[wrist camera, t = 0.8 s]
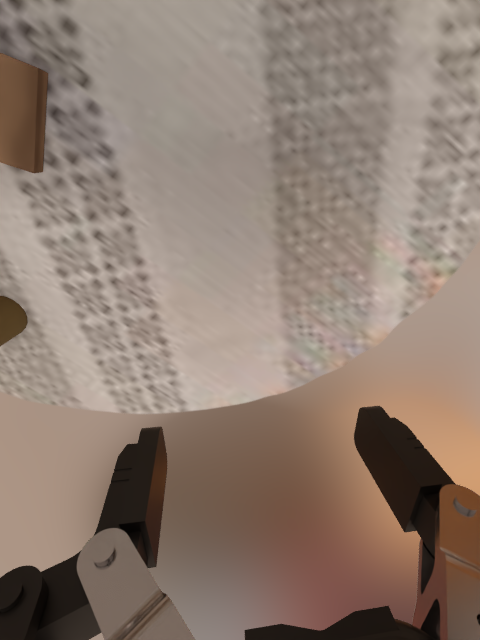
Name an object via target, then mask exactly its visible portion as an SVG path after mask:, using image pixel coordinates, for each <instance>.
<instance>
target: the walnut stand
mask: <svg viewBox="0 0 480 640" xmlns="http://www.w3.org/2000/svg"><path fill="white" fill-rule="evenodd" d="M47 82H48V73H47V72H45V71H43V70H41V69H39V68H37V67H34V66H32V65H29V64H27V63H24V62H22V61H19V60H17V59H14V58H12V57H9V56H7V55H5V54H2V53H0V162H1V163H4V164H7V165H10V166H13V167H17V168H20V169H23V170H26V171H29V172H32V173H39V172H43V158H44V139H45V120H46V101H47Z"/></svg>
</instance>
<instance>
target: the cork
mask: <svg viewBox="0 0 480 640" xmlns="http://www.w3.org/2000/svg"><path fill="white" fill-rule="evenodd" d="M26 325H27V316H26V313H25V311H24V310H23V309H22V307H21V306H20V305H19V304H18V303H16V302H15V301H13V300H12V299H9V298H7V297H4V296H0V346H1V345H3V344H4V343H6V342H7V341H9V340H10V339H12V338H13V337H15V336H16V335H18V334H19V333H21V332H22V331H23V330H24V329H25V328H26Z"/></svg>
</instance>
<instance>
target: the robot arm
mask: <svg viewBox="0 0 480 640" xmlns="http://www.w3.org/2000/svg"><path fill="white" fill-rule="evenodd" d="M354 440H355V445H356V448H357V450H358V452H359V454H360V456H361V458H362V459H363V461H364V463H365V465H366V466H367V468H368V469H369V471H370V473H371V475H372V477H373V478H374V480H375V482H376V484H377V485H378V487H379V489H380V491H381V492H382V494H383V496H384V498H385V499H386V501H387V503H388V504H389V506H390V508H391V510H392V511H393V513H394V515H395V516H396V518H397V520H398V522H399V524H400V525H401V527H402V529H403V531H404V532H411V531H417V532H418V534H419V535H420V537H421V540H420V544H419V562H418V582H417V600H416V606H415V611H414V615H413V621H412V625H411V624H409V623H406V622H404V621H401V620H398V619H394V618H393V615H392V613H391V611H390V608H389V606H385V607H379V608H373V609H367V610H361V611H355V612H353V613H351V614H350V615H348V616H346V617H345V618H343V619H341V620H340V621H338V622H336V623H335V624H333V625H332V626H330V627H328V628H327V629H325V630H321V631H318V630H312V629H307V628H301V627H296V626H290V625H284V624H278V625H272V626H266V627H261V628H254V629H249V630H245V640H480V496H479V495H478V494H476V493H475V492H473V491H472V490H470V489H468V488H466V487H463V486H460V485H456V484H455V483H454V482H453V481H452V479H451V478H450V477H449V476H448V475H447V473H446V472H445V471H444V470H443V469H442V467H441V466H440V465H439V464H438V463H437V461H436V460H435V459H434V458H433V457H432V455H430V453H429V452H428V451H427V449H425V448H424V446H423V445H422V443H421V442H420V441H419V440H417V438H416V436H415V435H414V434H413V433H412V431H411V430H410V429H409V428H408V427H407V426H406V425H405V424H403V423H402V422H400V421H399V420H398V419H396V418H390V417H389V416H388V415H387V413H386V412H385V411H384V409H383V408H382V407H380V406H373V407H362V408H360V409H359V413H358V418H357V423H356V429H355V433H354ZM166 475H167V453H166V447H165V441H164V435H163V429H162V427H152V428H142V429H141V432H140V436H139V440H138V443H137V444H128V445H126V447H125V448H124V450H123V451H122V452H121V453H120V455H119V456H118V459H117V462H116V466H115V469H114V473H113V476H112V480H111V484H110V486H109V489H108V493H107V496H106V500H105V503H104V507H103V510H102V513H101V517H100V521H99V524H98V527H97V530H96V532H95V534H94V536H93V537H92V538H91V539H90V540H89V541H88V542H87V543H86V544H85V546H84V547H83V549H82V550H81V551H80V552H79V553H77V554H76V555H75V556H73V557H71V558H69V559H68V560H66V561H63V562H62V563H59V564H57V565H55V566H53V567H51V568H48V569H46V570H44V571H42V572H40V571H39V570H38V569H37V568H36V567H33V566H22V567H18V568H16V569H13V570H12V571H10V572H8V573H6V574H5V575H4V576H2V577H1V578H0V640H89V639H91V638H92V637H94V636H96V635H98V634H99V633H101V632H102V634H103V637H104V639H105V640H195V639H194V637H193V635H192V634H191V632H190V630H189V629H188V627H187V625H186V624H185V622H184V620H183V619H182V617H181V615H180V614H179V612H178V611H177V609H176V607H175V606H174V604H173V602H172V601H171V599H170V598H169V597H168V596H167V595H166V594H164V593H163V592H162V591H161V590H160V588H159V586H158V585H157V583H156V582H155V580H154V578H153V577H152V575H151V573H150V572H149V570H148V568H151V567H156V564H157V556H158V547H159V538H160V529H161V520H162V511H163V502H164V493H165V483H166Z"/></svg>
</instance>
